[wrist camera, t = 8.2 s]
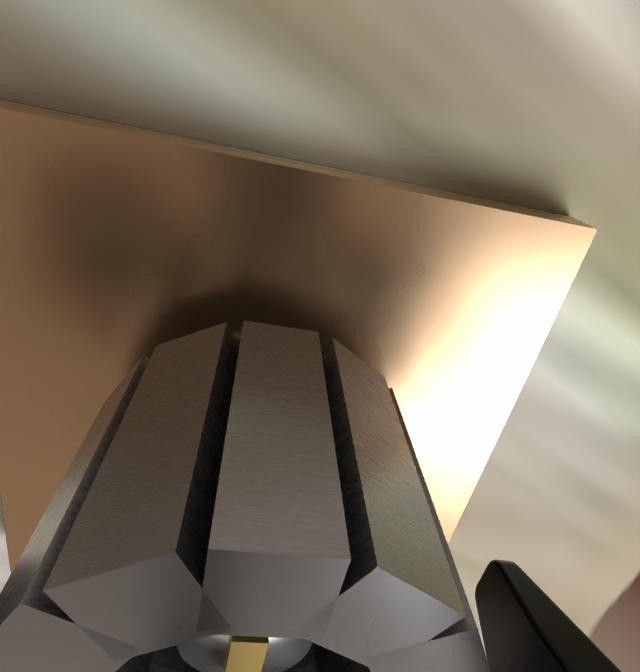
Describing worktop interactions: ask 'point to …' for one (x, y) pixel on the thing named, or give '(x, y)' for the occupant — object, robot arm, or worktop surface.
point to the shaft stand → (254, 297)
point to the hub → (242, 521)
